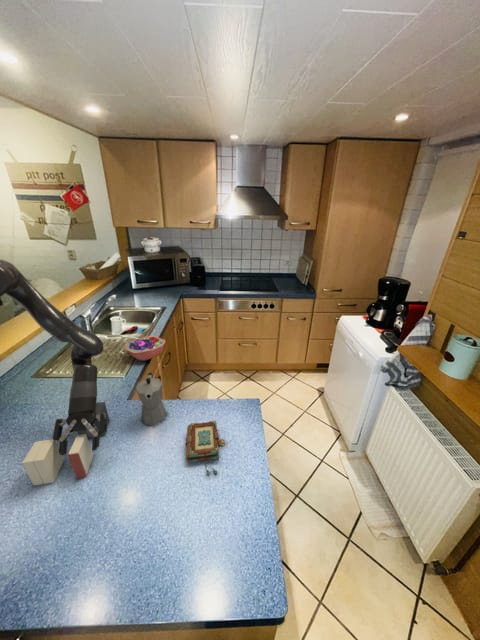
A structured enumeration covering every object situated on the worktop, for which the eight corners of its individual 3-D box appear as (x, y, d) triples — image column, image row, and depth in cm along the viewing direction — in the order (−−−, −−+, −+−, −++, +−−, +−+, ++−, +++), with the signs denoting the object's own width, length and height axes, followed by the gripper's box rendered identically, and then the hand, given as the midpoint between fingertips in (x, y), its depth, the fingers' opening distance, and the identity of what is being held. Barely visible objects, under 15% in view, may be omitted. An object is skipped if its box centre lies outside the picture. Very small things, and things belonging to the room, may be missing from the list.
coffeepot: (167, 426, 93) (161, 388, 86) (140, 432, 91) (132, 393, 83) (166, 398, 107) (161, 363, 99) (143, 402, 104) (136, 367, 97)
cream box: (33, 485, 73) (21, 462, 69) (45, 463, 79) (35, 441, 75) (53, 482, 74) (43, 459, 70) (63, 460, 80) (54, 438, 76)
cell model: (166, 363, 131) (164, 344, 126) (125, 368, 126) (121, 348, 121) (167, 347, 146) (165, 329, 141) (130, 350, 141) (127, 333, 136)
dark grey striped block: (79, 439, 88) (72, 417, 84) (86, 423, 94) (80, 403, 90) (104, 435, 89) (98, 414, 85) (109, 420, 96) (104, 400, 91)
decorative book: (185, 478, 76) (183, 467, 74) (187, 431, 92) (186, 421, 89) (228, 472, 78) (228, 461, 76) (223, 427, 94) (223, 417, 91)
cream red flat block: (76, 478, 75) (67, 455, 71) (84, 457, 82) (76, 435, 77) (86, 476, 76) (77, 454, 72) (93, 455, 82) (86, 433, 78)
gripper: (52, 399, 76) (45, 458, 71) (103, 393, 79) (100, 450, 73) (64, 400, 83) (59, 454, 78) (110, 395, 86) (108, 447, 80)
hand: (79, 452), depth 75 cm, fingers open, 8 cm apart
